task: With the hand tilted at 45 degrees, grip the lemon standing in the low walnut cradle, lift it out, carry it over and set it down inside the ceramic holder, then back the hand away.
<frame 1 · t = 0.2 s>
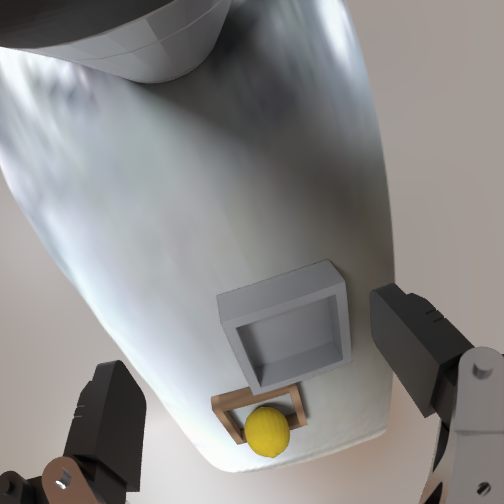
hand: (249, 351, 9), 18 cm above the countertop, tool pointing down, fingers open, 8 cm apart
holder: (284, 320, 32), on the countertop
cradle: (261, 407, 39), on the countertop
lemon: (260, 406, 39), resting in cradle
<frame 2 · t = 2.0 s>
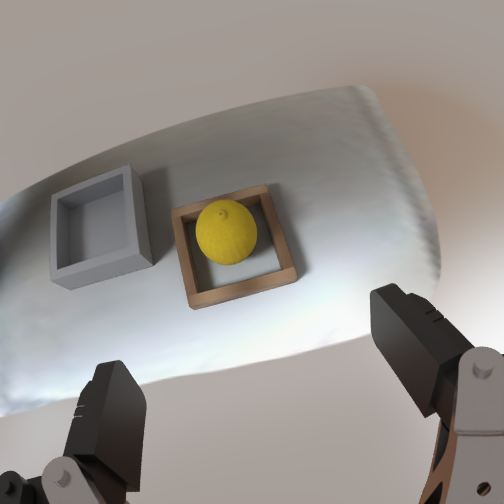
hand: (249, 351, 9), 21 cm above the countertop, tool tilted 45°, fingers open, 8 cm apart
holder: (104, 234, 34), on the countertop
cradle: (231, 248, 33), on the countertop
lemon: (232, 249, 33), resting in cradle
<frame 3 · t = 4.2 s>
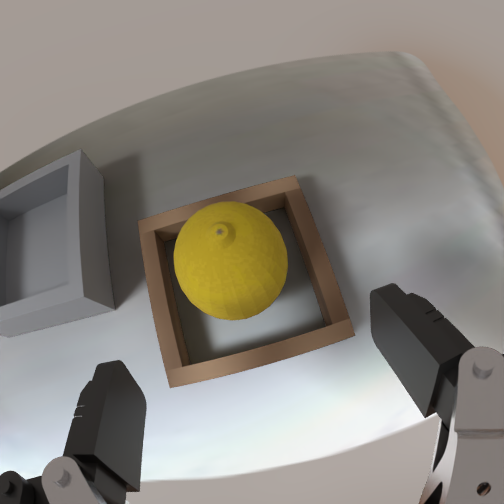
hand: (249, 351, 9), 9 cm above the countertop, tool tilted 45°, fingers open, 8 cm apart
holder: (49, 257, 21), on the countertop
cradle: (240, 283, 20), on the countertop
lemon: (240, 284, 20), resting in cradle
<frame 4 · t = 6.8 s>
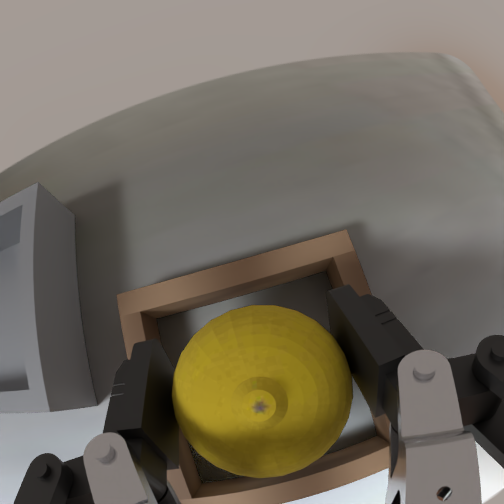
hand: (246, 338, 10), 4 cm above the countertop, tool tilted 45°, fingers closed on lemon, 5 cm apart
holder: (14, 321, 15), on the countertop
cradle: (265, 383, 13), on the countertop
lemon: (265, 383, 13), resting in cradle, touching gripper
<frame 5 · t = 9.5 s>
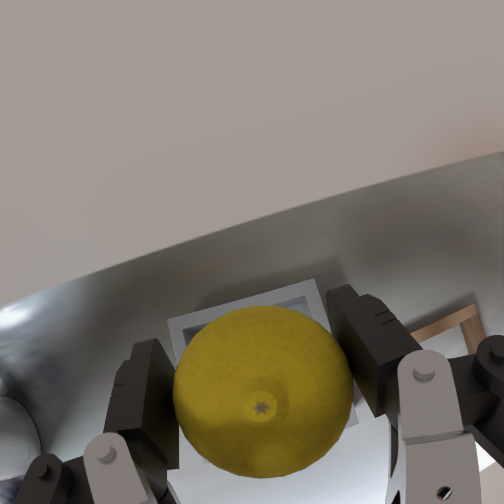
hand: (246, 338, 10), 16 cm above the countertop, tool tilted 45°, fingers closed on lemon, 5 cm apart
holder: (263, 373, 24), on the countertop
cradle: (436, 381, 22), on the countertop
lemon: (265, 383, 13), point 11 cm above the countertop, touching gripper
when the fingers open (7 cm above the countertop, at t = 12.3 s): lemon drops 1 cm, resting on holder.
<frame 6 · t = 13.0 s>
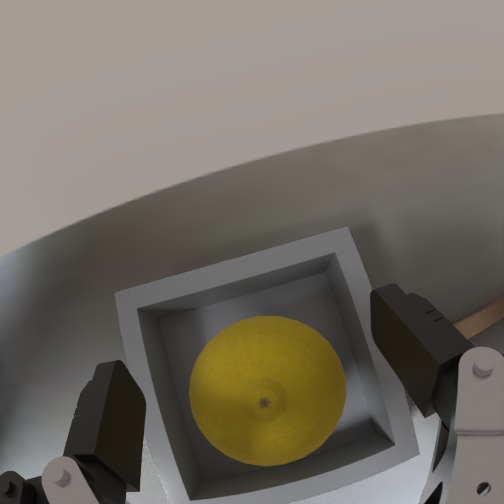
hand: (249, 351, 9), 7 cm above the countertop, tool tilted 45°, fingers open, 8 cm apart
holder: (266, 380, 16), on the countertop
cradle: (500, 381, 14), on the countertop
lemon: (271, 384, 15), point 1 cm above the countertop, touching holder
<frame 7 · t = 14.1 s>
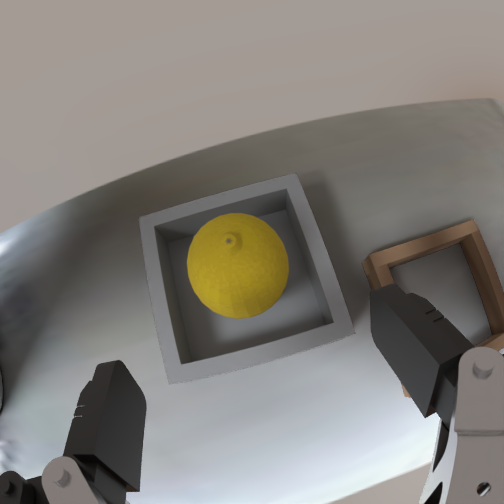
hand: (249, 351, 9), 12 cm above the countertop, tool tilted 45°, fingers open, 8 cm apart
holder: (243, 287, 22), on the countertop
cradle: (441, 306, 21), on the countertop
lemon: (246, 286, 22), point 1 cm above the countertop, touching holder
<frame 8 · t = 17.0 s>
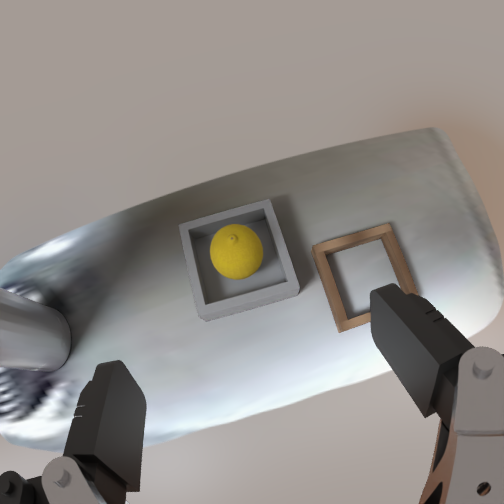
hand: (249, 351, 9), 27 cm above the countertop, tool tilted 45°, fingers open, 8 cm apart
holder: (239, 265, 38), on the countertop
cradle: (364, 278, 37), on the countertop
lemon: (240, 264, 37), point 1 cm above the countertop, touching holder
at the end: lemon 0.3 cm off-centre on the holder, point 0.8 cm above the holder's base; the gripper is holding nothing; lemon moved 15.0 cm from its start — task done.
